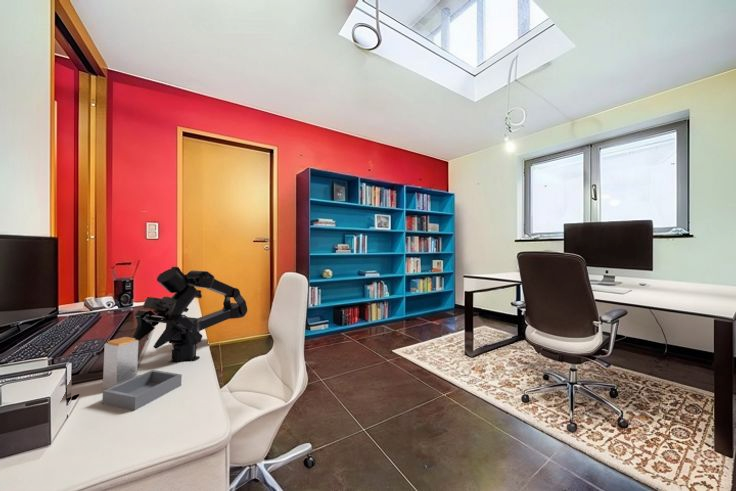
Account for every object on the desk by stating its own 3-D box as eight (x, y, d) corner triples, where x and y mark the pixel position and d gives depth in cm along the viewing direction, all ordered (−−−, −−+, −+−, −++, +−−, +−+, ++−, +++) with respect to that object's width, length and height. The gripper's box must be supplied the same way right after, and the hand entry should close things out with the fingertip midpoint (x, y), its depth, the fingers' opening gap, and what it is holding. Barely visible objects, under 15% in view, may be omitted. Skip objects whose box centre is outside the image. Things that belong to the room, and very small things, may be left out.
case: (152, 383, 77) (152, 369, 77) (181, 389, 75) (181, 374, 75) (102, 407, 65) (102, 391, 65) (134, 414, 63) (135, 397, 63)
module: (124, 380, 77) (125, 335, 78) (136, 383, 76) (138, 338, 76) (102, 388, 73) (104, 341, 73) (115, 392, 71) (117, 343, 71)
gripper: (141, 284, 88) (98, 328, 77) (186, 288, 82) (146, 336, 72) (165, 304, 95) (128, 346, 84) (207, 309, 90) (174, 355, 79)
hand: (143, 345), depth 80 cm, fingers open, 9 cm apart
